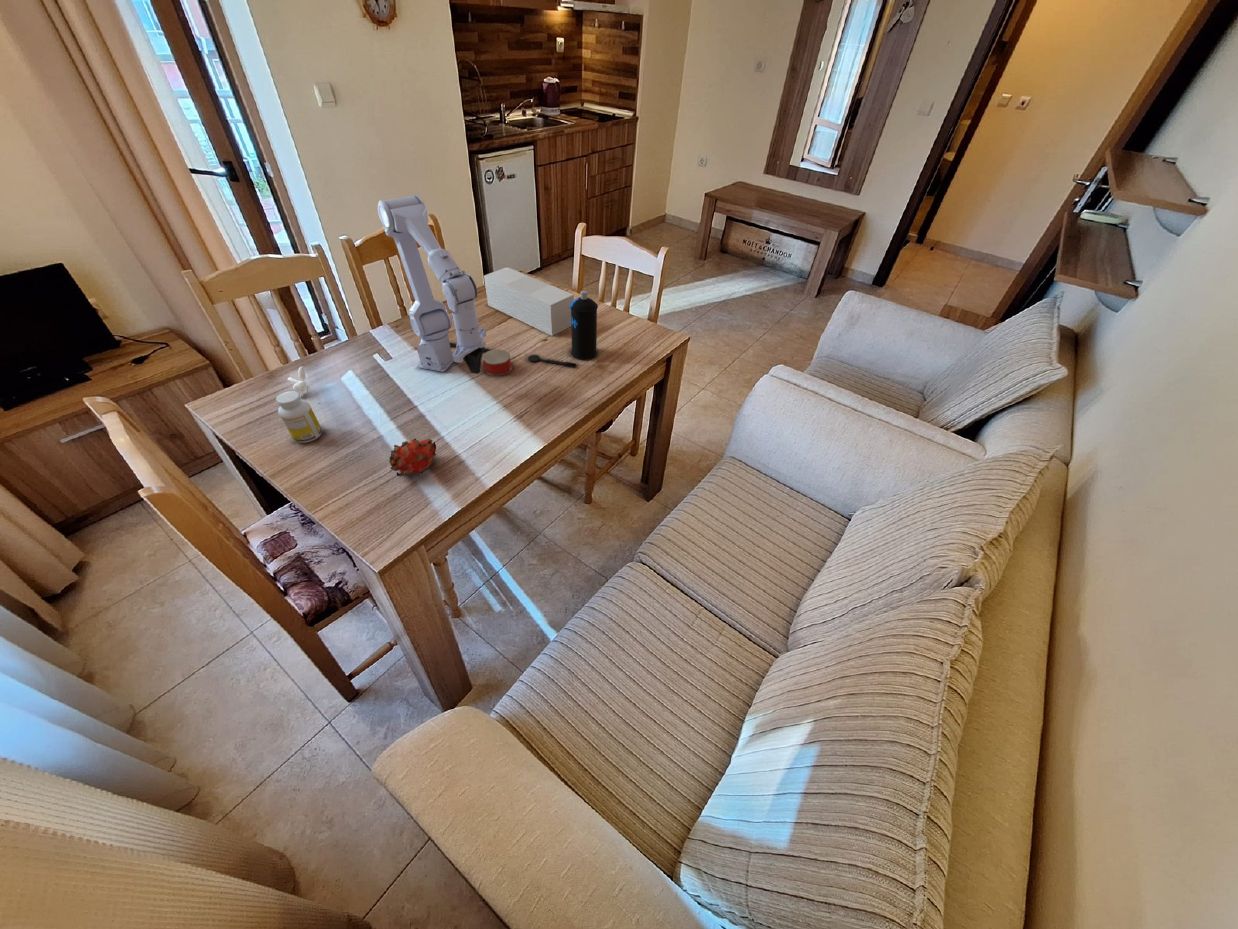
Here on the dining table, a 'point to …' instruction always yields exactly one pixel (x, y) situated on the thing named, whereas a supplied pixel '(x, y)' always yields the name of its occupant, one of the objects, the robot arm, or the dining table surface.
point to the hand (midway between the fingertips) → (475, 372)
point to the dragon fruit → (412, 456)
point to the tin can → (497, 362)
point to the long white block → (529, 300)
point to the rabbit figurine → (299, 382)
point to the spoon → (550, 361)
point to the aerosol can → (584, 327)
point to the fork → (456, 345)
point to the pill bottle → (298, 417)
